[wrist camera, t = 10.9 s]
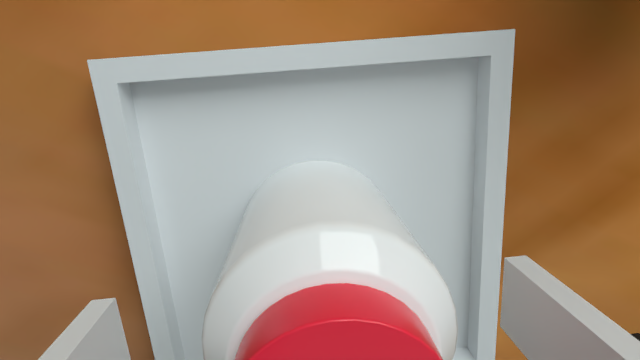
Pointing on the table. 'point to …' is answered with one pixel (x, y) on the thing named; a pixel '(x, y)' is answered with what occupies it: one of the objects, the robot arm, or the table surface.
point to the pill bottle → (327, 277)
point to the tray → (309, 158)
